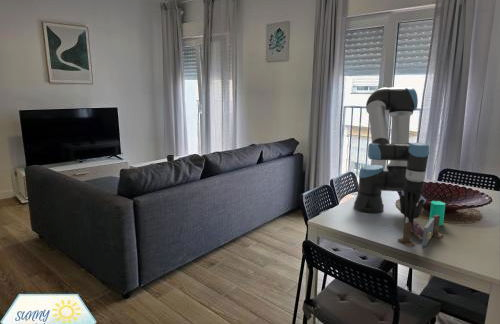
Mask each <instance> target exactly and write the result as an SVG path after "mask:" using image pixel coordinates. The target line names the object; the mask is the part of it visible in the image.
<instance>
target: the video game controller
mask: <svg viewBox="0 0 500 324" xmlns="http://www.w3.org/2000/svg"><path fill="white" fill-rule="evenodd" d="M419 224H420V223H418V221H415V220H413V225H412V227H411V233H414V235H415V236H416V237H418V236H419V237H421V238H422V239H423V233H424V229H423V228H422V227H421V225H419Z"/></svg>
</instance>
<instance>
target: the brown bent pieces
mask: <svg viewBox="0 0 500 324" xmlns="http://www.w3.org/2000/svg"><path fill="white" fill-rule="evenodd" d="M433 217H435V220H434V229H433V236H432V237H434V238H437V239H440V238H443V236H444V234H442V233H440V232H439V228H440V226H439V221H440V215H434V216H433ZM403 223H404V222H403ZM411 227H412V223H410V222H408V223H404V225H403V232H402V233H403V234H402V237H401V238H397V242H398V243H400V244H402V245H405V246H407V247H409V248H411V247H415V246H416V243H415V242H413V241H411V235H412V231H411Z"/></svg>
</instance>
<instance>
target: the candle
mask: <svg viewBox="0 0 500 324" xmlns="http://www.w3.org/2000/svg"><path fill="white" fill-rule="evenodd" d="M446 204H447V203H445V202H443V201H441V200H432V201H431V202H430V211H429V218H428V219H429V220H430V219H431V218H432V217H433V216H434V215H440V221H439V227H441V225H442V226H443V225H444V220H445V211H446ZM429 220H428V221H429Z"/></svg>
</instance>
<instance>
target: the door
mask: <svg viewBox="0 0 500 324" xmlns="http://www.w3.org/2000/svg"><path fill="white" fill-rule="evenodd" d="M434 220H435V217H432V218H431V219H430V220H428V221H427V223H426V225H424V228H423V231H424V233H423V238H422V241H421V242H422V243H421V246H422V247H427V245H428V243H429V242H430V240H431V238H432V237H434V236H433V229H434Z"/></svg>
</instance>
